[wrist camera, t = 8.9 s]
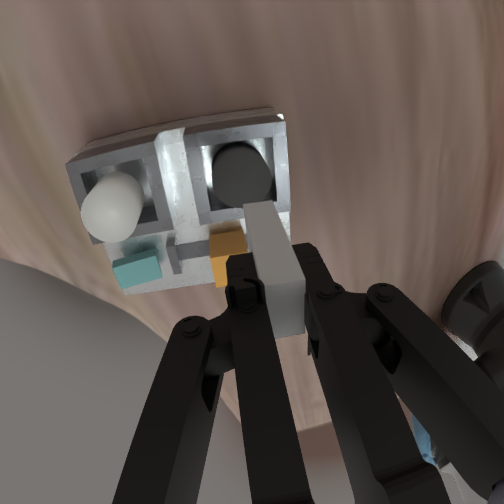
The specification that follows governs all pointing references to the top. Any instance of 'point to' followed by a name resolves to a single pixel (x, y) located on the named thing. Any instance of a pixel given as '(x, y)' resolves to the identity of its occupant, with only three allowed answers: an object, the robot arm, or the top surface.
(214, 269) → the slider knob
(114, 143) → the panel
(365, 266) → the top surface
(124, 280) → the teal rectangular block
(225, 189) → the button
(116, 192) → the button
